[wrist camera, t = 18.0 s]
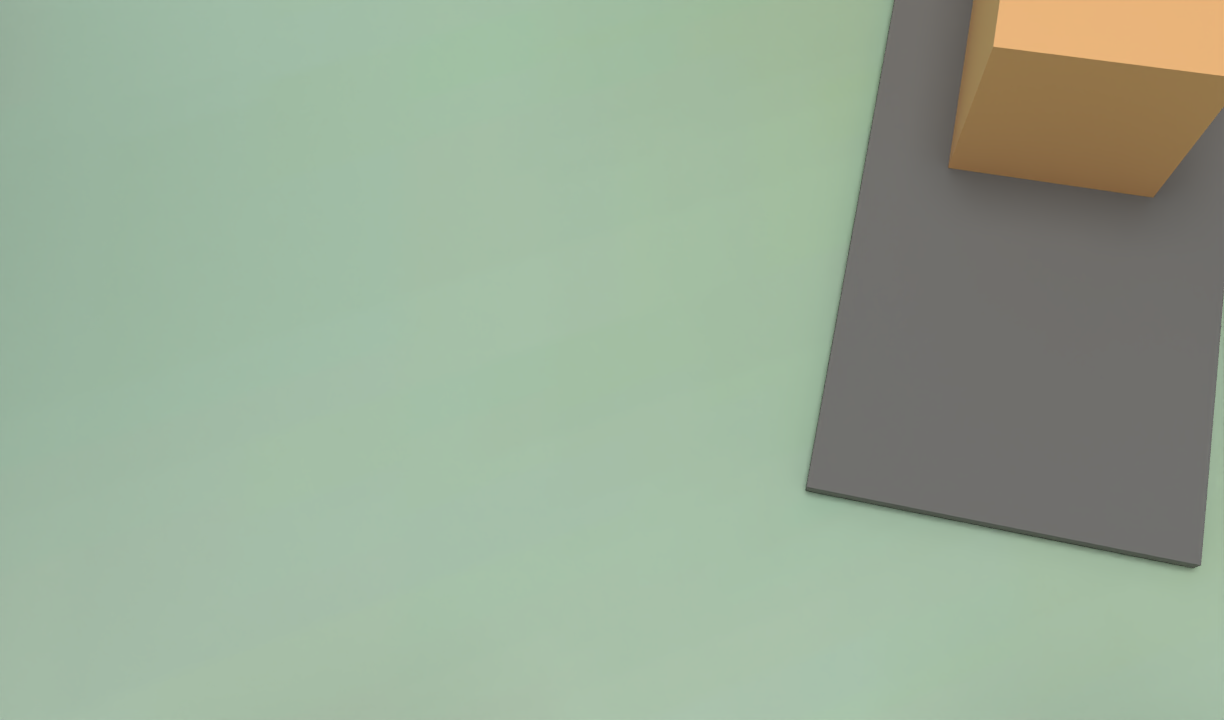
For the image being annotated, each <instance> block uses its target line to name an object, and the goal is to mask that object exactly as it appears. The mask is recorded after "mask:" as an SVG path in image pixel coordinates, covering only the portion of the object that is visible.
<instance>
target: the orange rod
mask: <svg viewBox="0 0 1224 720" xmlns="http://www.w3.org/2000/svg"><path fill="white" fill-rule="evenodd" d="M1223 107H1224V0H973V6H972V12H971V19H970V26H969V32H968V39H967V46H966V52H965V59H964V65H963V72H962V79H961V85H960V92H959V99H958V105H957V112H956V119H955V125H954V132H953V139H952V145H951V152H950V159H949V165H948V168H952V169H959V170H966V171H973V172H980V173H987V174H993V175H1000V176H1007V177H1014V178H1021V179H1028V180H1035V181H1042V182H1049V183H1055V184H1062V185H1069V186H1076V187H1083V188H1090V189H1097V190H1104V191H1111V192H1118V193H1124V194H1131V195H1138V196H1145V197H1152V198H1153V197H1154V196H1155V195H1156V193H1157V192H1158V191H1159V189H1160V188H1161V187H1162V186H1163V184H1164V183H1165V182H1166V180H1167V179H1168V178H1169V176H1170V175H1171V174H1172V173H1173V171H1174V170H1175V169H1176V167H1177V166H1178V165H1179V164H1180V162H1181V161H1182V160H1183V158H1184V157H1185V156H1186V155H1187V153H1188V152H1189V151H1190V149H1191V148H1192V147H1193V146H1194V144H1195V143H1196V142H1197V140H1198V139H1199V138H1200V137H1201V135H1202V134H1203V133H1204V131H1205V130H1206V129H1207V128H1208V126H1209V125H1210V124H1211V122H1212V121H1213V120H1214V119H1215V117H1216V116H1217V115H1218V113H1219V112H1220V111H1221V110H1222V108H1223Z"/></svg>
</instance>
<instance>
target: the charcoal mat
mask: <svg viewBox="0 0 1224 720" xmlns="http://www.w3.org/2000/svg"><path fill="white" fill-rule="evenodd" d="M972 6H973V0H894V5H893V11H892V16H891V22H890V27H889V33H888V38H887V44H886V50H885V55H884V61H883V66H882V72H881V77H880V83H879V88H878V94H877V99H876V105H875V110H874V116H873V121H872V127H871V132H870V138H869V143H868V149H867V154H866V160H865V166H864V171H863V177H862V182H861V188H860V193H859V199H858V204H857V210H856V215H855V221H854V226H853V232H852V237H851V243H850V248H849V254H848V259H847V265H846V270H845V276H844V281H843V287H842V293H841V298H840V304H839V309H838V315H837V320H836V326H835V331H834V337H833V342H832V348H831V353H830V359H829V364H828V370H827V375H826V381H825V386H824V392H823V397H822V403H821V408H820V414H819V420H818V425H817V431H816V436H815V442H814V447H813V453H812V458H811V464H810V469H809V475H808V480H807V486H806V491H811V492H816V493H821V494H826V495H831V496H836V497H841V498H846V499H851V500H856V501H861V502H866V503H871V504H877V505H882V506H887V507H892V508H897V509H902V510H907V511H912V512H917V513H922V514H927V515H932V516H937V517H942V518H947V519H952V520H957V521H962V522H967V523H972V524H977V525H982V526H987V527H992V528H997V529H1002V530H1007V531H1012V532H1017V533H1022V534H1027V535H1032V536H1037V537H1042V538H1047V539H1052V540H1057V541H1062V542H1067V543H1072V544H1077V545H1082V546H1087V547H1092V548H1097V549H1102V550H1107V551H1112V552H1117V553H1122V554H1127V555H1132V556H1137V557H1142V558H1147V559H1152V560H1157V561H1162V562H1167V563H1172V564H1177V565H1182V566H1187V567H1192V568H1195V567H1197V566H1200V565H1201V559H1202V547H1203V535H1204V523H1205V511H1206V499H1207V487H1208V475H1209V463H1210V451H1211V439H1212V427H1213V415H1214V403H1215V391H1216V378H1217V366H1218V354H1219V342H1220V330H1221V318H1222V306H1223V294H1224V107H1223V108H1222V110H1221V111H1220V112H1219V113H1218V115H1217V116H1216V117H1215V119H1214V120H1213V121H1212V122H1211V124H1210V125H1209V126H1208V128H1207V129H1206V130H1205V131H1204V133H1203V134H1202V135H1201V137H1200V138H1199V139H1198V140H1197V142H1196V143H1195V144H1194V146H1193V147H1192V148H1191V149H1190V151H1189V152H1188V153H1187V155H1186V156H1185V157H1184V158H1183V160H1182V161H1181V162H1180V164H1179V165H1178V166H1177V167H1176V169H1175V170H1174V171H1173V173H1172V174H1171V175H1170V176H1169V178H1168V179H1167V180H1166V182H1165V183H1164V184H1163V186H1162V187H1161V188H1160V189H1159V191H1158V192H1157V193H1156V195H1155V196H1154V197H1153V198H1152V197H1145V196H1138V195H1131V194H1124V193H1118V192H1111V191H1104V190H1097V189H1090V188H1083V187H1076V186H1069V185H1062V184H1055V183H1049V182H1042V181H1035V180H1028V179H1021V178H1014V177H1007V176H1000V175H993V174H987V173H980V172H973V171H966V170H959V169H952V168H948V165H949V159H950V152H951V145H952V139H953V132H954V125H955V119H956V112H957V105H958V99H959V92H960V85H961V79H962V72H963V65H964V59H965V52H966V46H967V39H968V32H969V26H970V19H971V12H972Z"/></svg>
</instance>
